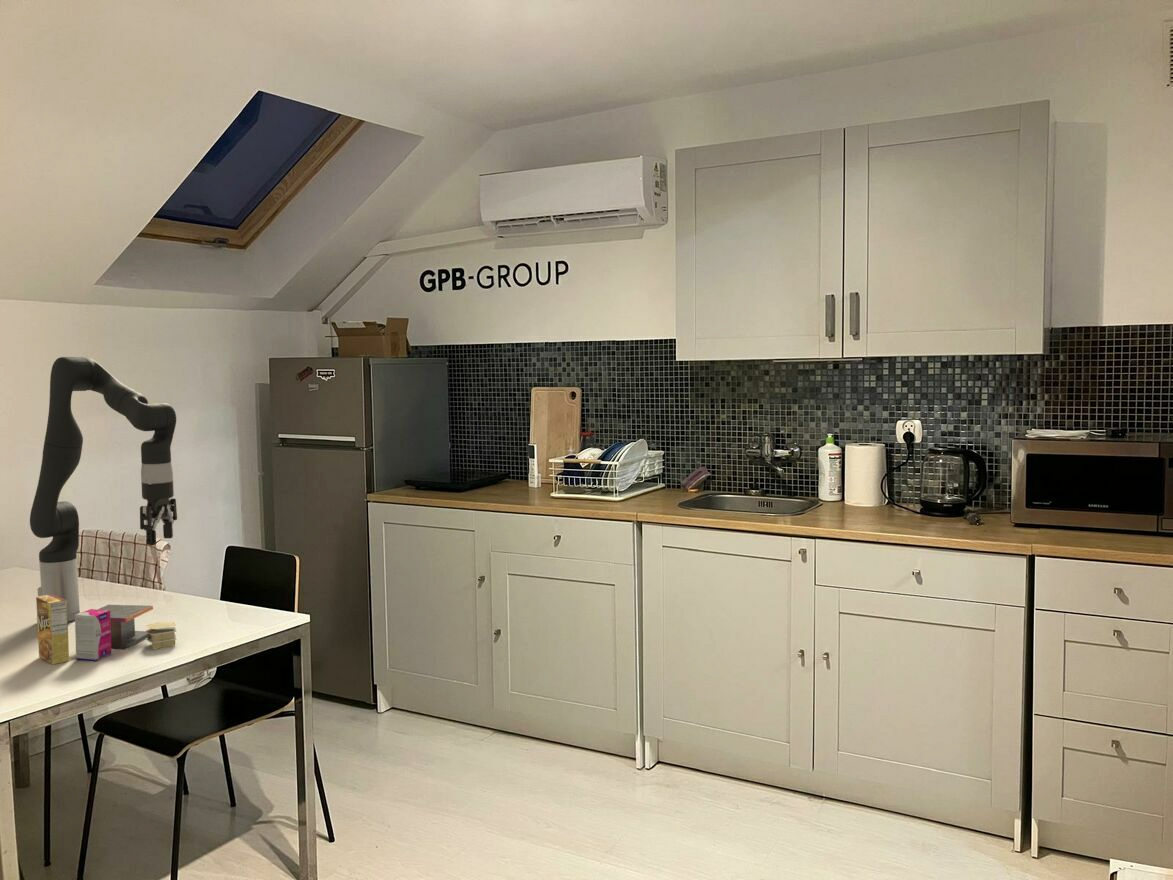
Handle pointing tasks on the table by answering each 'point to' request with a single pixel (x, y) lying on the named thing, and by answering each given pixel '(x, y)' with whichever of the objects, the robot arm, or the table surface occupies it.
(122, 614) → the stand
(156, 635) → the tan layered block
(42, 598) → the candy box
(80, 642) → the supplement box
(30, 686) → the table surface
